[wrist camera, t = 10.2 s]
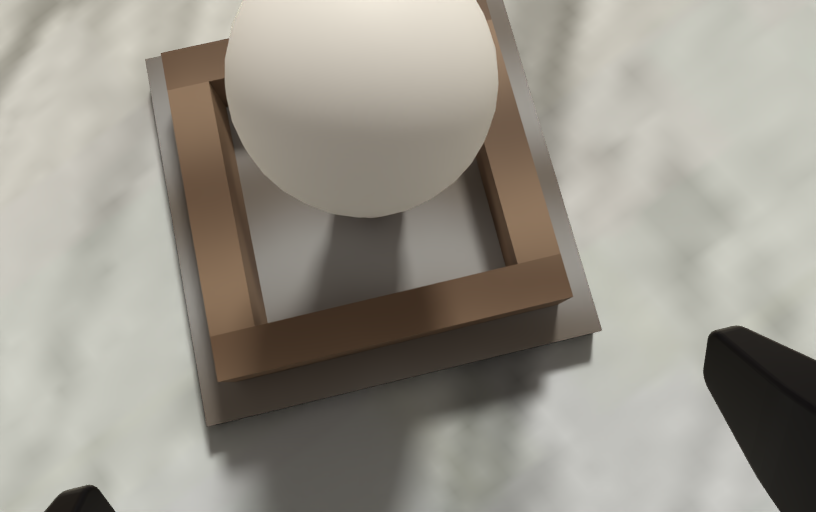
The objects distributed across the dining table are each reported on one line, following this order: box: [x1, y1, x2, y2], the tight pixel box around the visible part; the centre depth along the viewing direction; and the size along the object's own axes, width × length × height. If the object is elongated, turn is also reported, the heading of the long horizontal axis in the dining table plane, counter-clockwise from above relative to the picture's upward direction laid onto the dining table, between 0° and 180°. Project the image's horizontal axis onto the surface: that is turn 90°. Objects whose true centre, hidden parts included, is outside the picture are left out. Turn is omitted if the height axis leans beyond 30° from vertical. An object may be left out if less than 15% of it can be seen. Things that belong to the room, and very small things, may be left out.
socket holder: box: [145, 0, 602, 427], centre depth 21 cm, size 14×14×3 cm
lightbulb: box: [225, 0, 498, 218], centre depth 16 cm, size 6×6×11 cm
